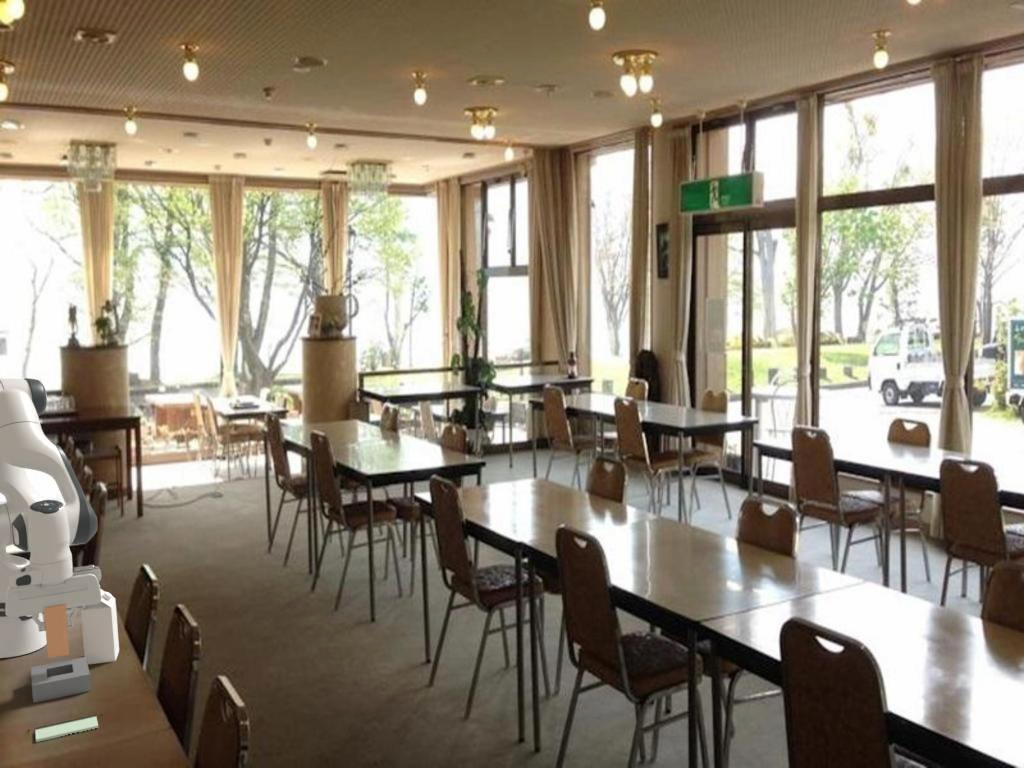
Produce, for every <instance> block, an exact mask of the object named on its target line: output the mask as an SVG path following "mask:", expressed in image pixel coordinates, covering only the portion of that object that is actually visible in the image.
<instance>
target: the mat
mask: <svg viewBox="0 0 1024 768" xmlns="http://www.w3.org/2000/svg"><path fill="white" fill-rule="evenodd" d="M98 722H99V721H98V717H97V714H93V715H89V716H84V717H79V718H74V719H71V720H67V721H66V720H65V721H62V722H57V723H52V724H49V725H44V726H39V727H35V729H34V730H35V731H34V732H35V742H36V743H39V742H43V741H49V740H52V739H57V738H62V737H66V736H69V735H68V734H70V735H73V734H72V733H75V734H78V733H77V732H79V733H83V731H84V732H88V731H91V729H92V730H95V728H97V729H99V723H98ZM87 730H88V731H87ZM65 735H66V736H65ZM61 736H62V737H61Z"/></svg>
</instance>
